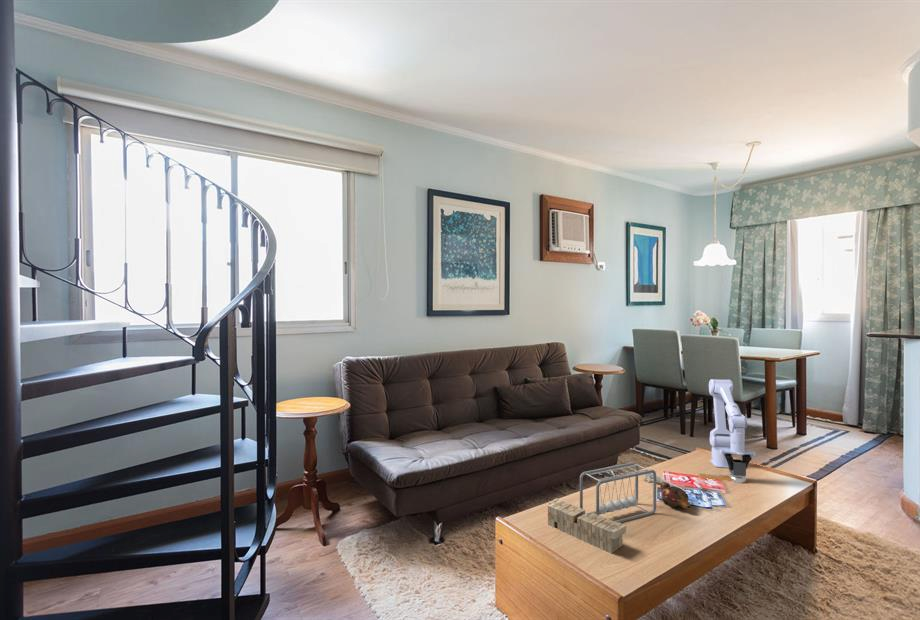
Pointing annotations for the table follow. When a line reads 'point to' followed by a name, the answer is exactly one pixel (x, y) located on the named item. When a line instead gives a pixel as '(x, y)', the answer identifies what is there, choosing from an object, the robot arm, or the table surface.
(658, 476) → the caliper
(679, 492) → the decorative turtle
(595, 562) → the table surface
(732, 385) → the robot arm
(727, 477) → the ratchet
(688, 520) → the table surface
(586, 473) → the newton's cradle
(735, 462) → the hollow square tube
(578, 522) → the block tower
